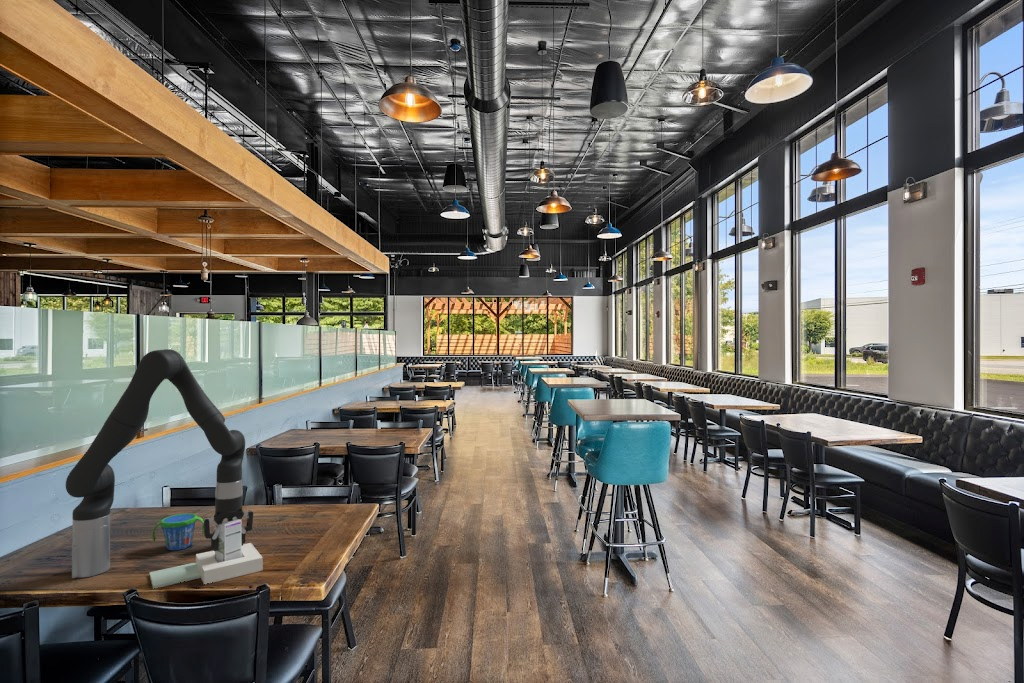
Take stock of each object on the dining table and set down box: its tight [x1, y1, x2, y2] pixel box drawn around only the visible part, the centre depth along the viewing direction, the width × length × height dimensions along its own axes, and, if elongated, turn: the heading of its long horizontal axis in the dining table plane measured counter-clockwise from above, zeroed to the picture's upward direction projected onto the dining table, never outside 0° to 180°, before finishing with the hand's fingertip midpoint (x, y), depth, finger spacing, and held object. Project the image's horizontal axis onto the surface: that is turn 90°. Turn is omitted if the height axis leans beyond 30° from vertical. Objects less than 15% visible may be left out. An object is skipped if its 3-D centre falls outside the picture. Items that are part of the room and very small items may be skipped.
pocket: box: [195, 542, 264, 585], centre depth 167 cm, size 16×16×4 cm
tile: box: [149, 562, 201, 590], centre depth 162 cm, size 12×12×1 cm
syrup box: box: [214, 519, 243, 563], centre depth 167 cm, size 6×6×14 cm
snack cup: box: [151, 512, 204, 551], centre depth 185 cm, size 16×10×10 cm
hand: (228, 547), depth 167 cm, fingers closed on syrup box, 7 cm apart
